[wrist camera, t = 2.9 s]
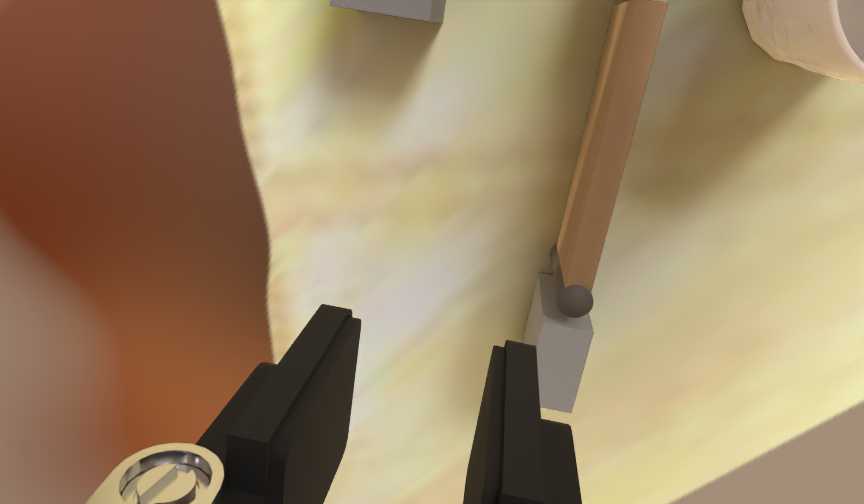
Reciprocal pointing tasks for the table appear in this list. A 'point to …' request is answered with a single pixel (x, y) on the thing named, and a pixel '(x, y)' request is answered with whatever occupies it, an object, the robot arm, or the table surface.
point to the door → (604, 150)
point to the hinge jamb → (556, 346)
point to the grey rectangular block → (398, 8)
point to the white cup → (811, 34)
